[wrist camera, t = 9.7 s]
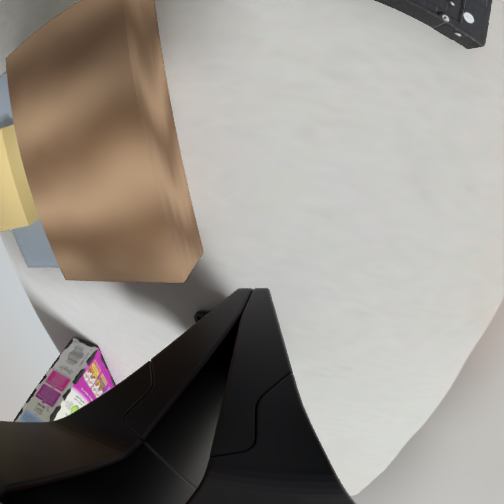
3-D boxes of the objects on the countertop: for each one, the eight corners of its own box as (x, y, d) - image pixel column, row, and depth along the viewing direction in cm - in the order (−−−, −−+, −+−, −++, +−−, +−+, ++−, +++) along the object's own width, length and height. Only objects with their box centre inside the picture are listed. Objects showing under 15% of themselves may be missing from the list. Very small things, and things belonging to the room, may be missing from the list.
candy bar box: (72, 334, 33) (8, 423, 20) (99, 346, 33) (36, 445, 19) (94, 380, 39) (49, 458, 25) (119, 391, 39) (75, 475, 25)
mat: (90, 265, 26) (88, 267, 25) (29, 266, 29) (27, 267, 28) (35, 48, 15) (33, 48, 15) (-19, 98, 18) (-21, 98, 18)
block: (0, 231, 24) (12, 223, 25) (29, 225, 22) (42, 216, 24) (-25, 149, 19) (-12, 144, 21) (1, 128, 17) (16, 123, 19)
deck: (203, 252, 22) (184, 282, 19) (90, 256, 25) (65, 279, 22) (153, -8, 13) (121, -23, 9) (39, 55, 16) (5, 58, 12)
